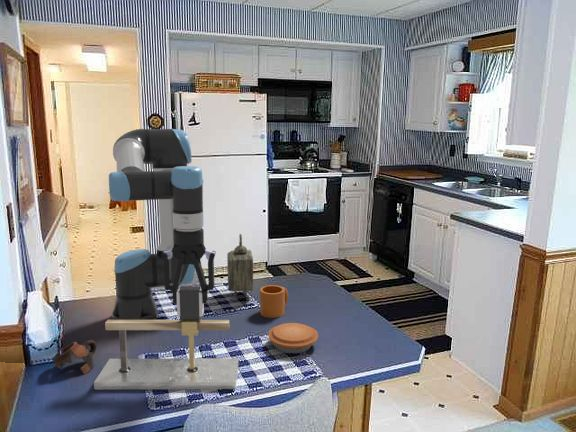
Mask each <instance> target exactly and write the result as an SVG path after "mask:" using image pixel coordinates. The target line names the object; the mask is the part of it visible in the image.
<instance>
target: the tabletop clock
mask: <svg viewBox="0 0 576 432" xmlns="http://www.w3.org/2000/svg"><path fill="white" fill-rule="evenodd" d="M238 237H239V242H238V243H239V244H238V245H237V246H235V248H234V249H233V250H230V251H229V252H227V256H226V258H227V285H228V286H227V287H228V290H230V291H232V292H233V293H232V296H233V297H237V296H238V293H237V292H243V294H244V295H245V300H246V301H247V302H249V301H250V300H251V297H250V296H248V293H247V292H250V291H253V290H254V257H253V254H252V250H251V249H247V247H246V246H244V245H243V235H242V233H239V236H238Z"/></svg>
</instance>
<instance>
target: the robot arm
mask: <svg viewBox="0 0 576 432" xmlns="http://www.w3.org/2000/svg"><path fill="white" fill-rule="evenodd" d="M112 156H113V159H114V160H115V162H116V171H112V172H110V173H108V189H109V198H110V200H111V201H113V202H135V201H155V200H158V219H159V237H160V238H159V239H160V240H159V241H160V242H159V244H158V246H156V249H155V250H156V251H155V252H156V253H152V252H151V251H150V250H149V249H146V248H145V249H144V248H143V249H142V248H140V249H132V250H128V251H125V252H122V253H121V254H118V255H117V257H116V258H115V260H114V270H113V272H114V273H115V275H114V276H115V297H116V299H115V302H114V306H113V309H112V313H111V316H112V317H111V320H157V318H158V316H159V310H158V306H157V304H156V301H155V299H154V296H153V288H161V287H164V290H166V291H167V290H168V291H171V293H172V303H173V304H176V316H177V317H180V294H179V289H180V288H179V287H181V286H182V285H183V286H184V285H188V284H190V283H192V281H193V280H194V277H195V272H196V276H197V280H198V283H199V285H200V292H199V317H201V318H202V317H203V316H204V313H205V309H204V307H205V305H204V304H207V302H208V299H209V297H208V296H209V295H208V292H209V291H213V290H214V288H215V284H216V283H215V257H216V254H217V252H216V250H212V251H211V250H210V249H209V250H208V249H207V248H206V246H205V238H204V228H203V227H204V202H203V199H204V198H203V197H204V195H203V194H204V193H203V192H204V191H203V189H204V188H203V186H204V179H203V170H202V168H200V167H199V166H195V165H189V164H191V163H192V149H191V143H190V140H189V137H188V134H187V132H186V131H185V130H183V129H177V128H176V129H175V128H139V129H137V128H136V129H133V130H130V131H128V132H126V133H124V134H122V135H121V136H120V137H118V138H117V140H115V142H114V144H113V147H112ZM145 165H151V166H152V170H149V171H147V170H145ZM203 256H205V258H206V260H207V280H208V281H207V280H206V277H205V272H204V270H203V266H202V262H201V260H202V258H203ZM207 282H208V283H207Z"/></svg>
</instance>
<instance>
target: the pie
mask: <svg viewBox="0 0 576 432" xmlns="http://www.w3.org/2000/svg"><path fill="white" fill-rule="evenodd" d="M267 335H268V339H269V340H270V341H271V342H272V344H273V345H274V347H275V348H276V349H277V350H278V351H280V352H282V353H286V354H291V353H294V354H295V355H296V354H301V353H305V352H307V351H309V349H311V347H312V346H313V344H314V343H316V342H317V340H318V338H319V332H318V331H317V330H316V329H315V328H313V327H311V326H309V325H306V324H303V323H300V322H299V323H298V322H285V323H281V324H279V325H276V326H274V327H271V329H270V330H268V333H267ZM294 354H293V355H294Z"/></svg>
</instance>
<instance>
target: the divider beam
mask: <svg viewBox="0 0 576 432" xmlns="http://www.w3.org/2000/svg"><path fill="white" fill-rule="evenodd" d="M104 325H105V326H104V327H105V329H104V330H105V331H118V335H119V337H118V339H119V353H120V354H119V356H120V359H121V371H127V370H128V359H129V358H128V344H127V343H128V342H127V340H128V339H127V331H182V322H180V319H155V320H112V319H107V320H106V321H105V323H104ZM230 326H231V325H230V319H201V320H200V323H198V330H199V331H230Z"/></svg>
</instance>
